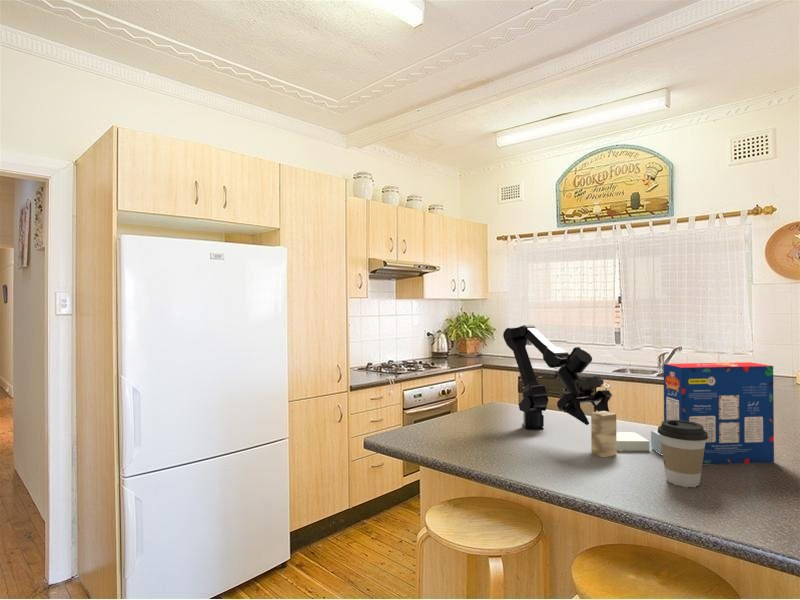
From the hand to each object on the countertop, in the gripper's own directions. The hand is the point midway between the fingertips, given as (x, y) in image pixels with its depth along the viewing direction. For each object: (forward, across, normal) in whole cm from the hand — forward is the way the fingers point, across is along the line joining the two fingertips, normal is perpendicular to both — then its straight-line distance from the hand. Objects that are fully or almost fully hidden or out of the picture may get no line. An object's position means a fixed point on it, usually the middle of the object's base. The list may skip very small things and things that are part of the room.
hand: (599, 422), depth 144 cm
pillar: (+8, 0, +5) cm, 9 cm away
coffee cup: (+26, +1, -12) cm, 28 cm away
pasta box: (+20, +27, -6) cm, 34 cm away
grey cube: (+12, +19, +1) cm, 23 cm away
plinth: (+6, +13, +8) cm, 16 cm away
